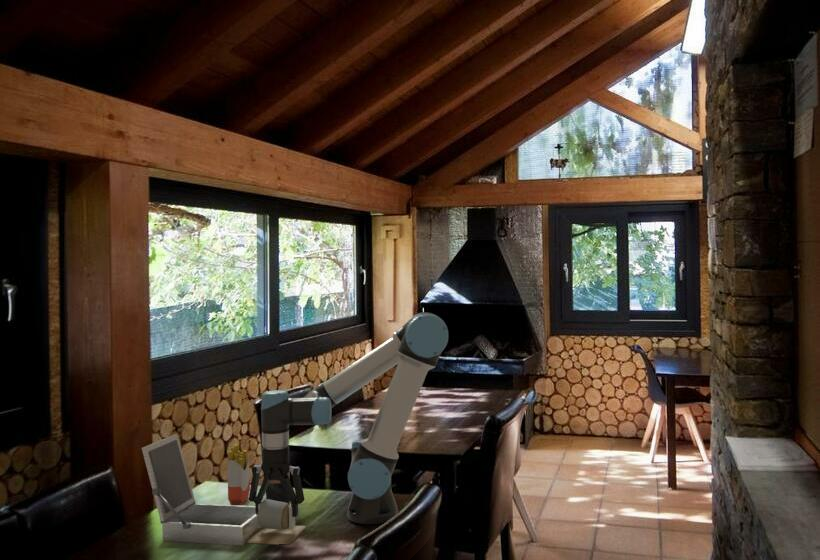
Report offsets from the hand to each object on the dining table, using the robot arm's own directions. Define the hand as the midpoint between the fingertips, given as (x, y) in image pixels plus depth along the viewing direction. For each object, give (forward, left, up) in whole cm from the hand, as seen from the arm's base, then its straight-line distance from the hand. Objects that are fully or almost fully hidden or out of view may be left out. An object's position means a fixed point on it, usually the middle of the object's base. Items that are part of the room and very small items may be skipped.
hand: (277, 527), depth 194 cm
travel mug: (+9, -23, -3) cm, 25 cm away
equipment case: (+21, +1, -2) cm, 21 cm away
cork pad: (0, 0, -2) cm, 2 cm away
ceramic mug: (0, -1, 0) cm, 1 cm away
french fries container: (+24, -27, -3) cm, 36 cm away
